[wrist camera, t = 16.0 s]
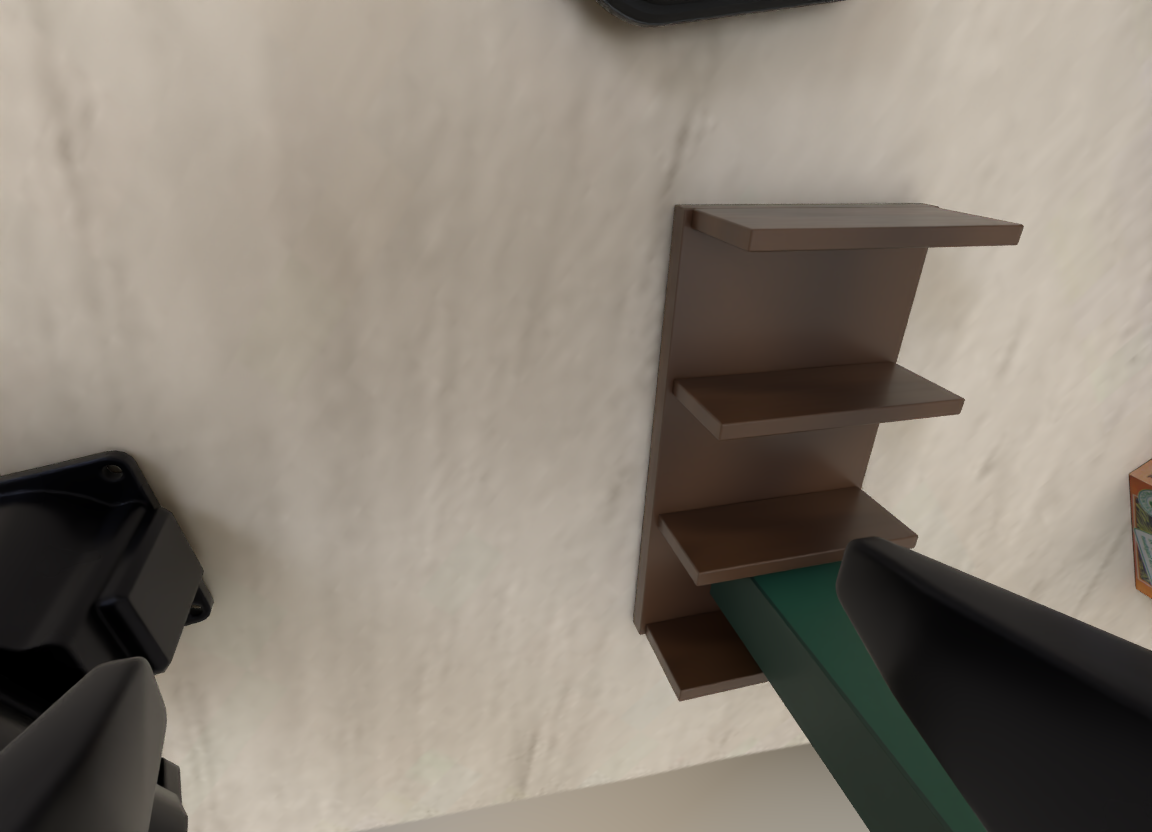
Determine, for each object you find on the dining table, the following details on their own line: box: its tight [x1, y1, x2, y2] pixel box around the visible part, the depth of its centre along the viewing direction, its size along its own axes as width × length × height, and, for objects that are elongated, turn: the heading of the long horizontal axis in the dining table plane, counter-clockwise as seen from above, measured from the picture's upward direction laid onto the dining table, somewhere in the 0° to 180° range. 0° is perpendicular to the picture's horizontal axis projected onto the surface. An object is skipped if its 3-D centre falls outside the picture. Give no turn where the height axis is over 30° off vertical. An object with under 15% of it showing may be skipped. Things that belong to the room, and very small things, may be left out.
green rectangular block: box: [710, 561, 987, 832], centre depth 22 cm, size 6×3×12 cm, turn 88°
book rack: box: [633, 204, 1024, 701], centre depth 23 cm, size 10×17×4 cm, turn 178°
